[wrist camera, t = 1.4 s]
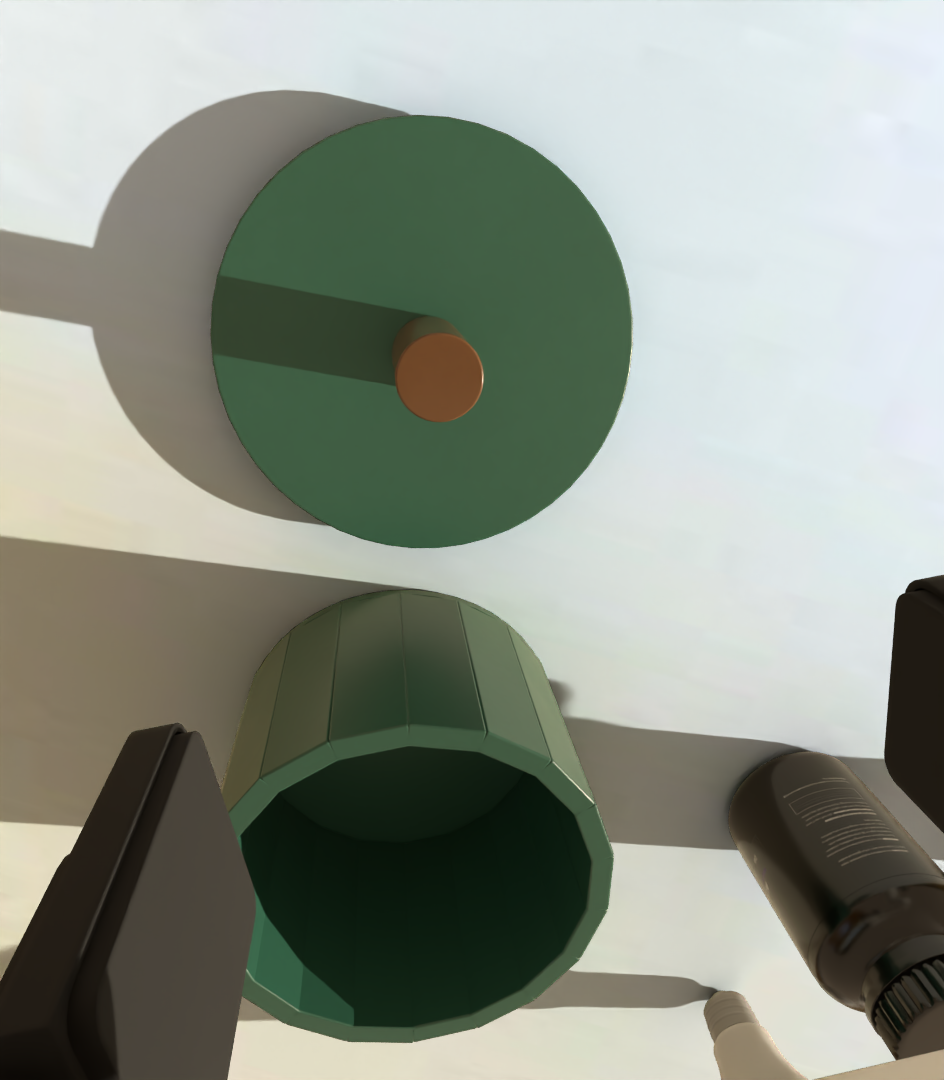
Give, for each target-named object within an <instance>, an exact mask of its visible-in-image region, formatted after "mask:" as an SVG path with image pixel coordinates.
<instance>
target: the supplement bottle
mask: <svg viewBox="0 0 944 1080" xmlns="http://www.w3.org/2000/svg"><path fill="white" fill-rule="evenodd" d="M728 825H729V830H730V834H731V837H732V839H733V841H734V843H735V845H736V847H737V848H738V850H739V852H740V853H741V855H742V857H743V859H744V861H745V862H746V864H747V866H748V867H749V869H750V871H751V872H752V874H753V876H754V877H755V879H756V881H757V882H758V884H759V886H760V887H761V889H762V891H763V892H764V894H765V896H766V897H767V899H768V901H769V902H770V904H771V906H772V908H773V909H774V911H775V913H776V914H777V916H778V918H779V919H780V921H781V923H782V924H783V926H784V928H785V929H786V931H787V933H788V934H789V936H790V938H791V939H792V941H793V943H794V944H795V946H796V948H797V949H798V951H799V953H800V955H801V956H802V958H803V960H804V961H805V963H806V965H807V966H808V968H809V970H810V971H811V973H812V974H813V976H814V977H815V979H816V980H817V982H818V983H819V985H820V986H821V988H822V989H823V990H824V991H825V992H826V993H827V994H828V995H830V996H831V997H832V998H833V999H835V1000H836V1001H838V1002H840V1003H841V1004H843V1005H845V1006H847V1007H849V1008H851V1009H854V1010H857V1011H860V1012H865V1013H866V1016H867V1018H868V1020H869V1022H870V1023H871V1025H872V1026H873V1028H874V1030H875V1031H876V1032H877V1034H878V1035H880V1036H881V1037H882V1039H883V1041H884V1042H885V1044H886V1045H887V1047H888V1048H889V1050H890V1052H891V1053H892V1055H893V1056H894V1058H895V1059H896V1060H900V1059H905V1058H909V1057H913V1056H918V1055H922V1054H926V1053H931V1052H935V1051H939V1050H944V872H943V871H942V870H941V869H940V868H939V867H938V866H937V865H936V863H935V862H934V861H933V860H932V859H931V858H930V857H929V856H928V854H927V853H926V852H925V851H924V850H923V849H922V848H921V847H920V845H919V844H918V843H917V842H916V841H915V840H914V839H913V838H912V836H911V835H910V834H909V833H908V832H907V831H906V830H905V829H904V828H903V826H902V825H901V824H900V823H899V822H898V821H897V820H896V819H895V817H894V816H893V815H892V814H891V813H890V812H889V811H888V810H887V808H886V807H885V806H884V805H883V804H882V803H881V802H880V801H879V799H878V798H877V797H876V796H875V795H874V794H873V793H872V792H871V791H870V789H869V788H868V787H867V786H866V785H865V784H864V783H863V782H862V781H861V780H860V778H859V777H858V776H857V775H856V774H855V773H854V772H853V771H852V770H851V769H850V768H849V767H848V766H847V765H846V764H845V763H843V762H842V761H840V760H838V759H837V758H835V757H833V756H830V755H827V754H823V753H818V752H796V753H790V754H786V755H783V756H780V757H777V758H775V759H773V760H771V761H768V762H767V763H765V764H763V765H762V766H760V767H759V768H757V769H756V770H755V771H753V772H752V773H751V774H750V775H749V776H748V777H747V778H746V779H745V780H744V781H743V783H742V784H741V785H740V786H739V788H738V790H737V791H736V793H735V795H734V797H733V799H732V802H731V805H730V809H729V816H728Z"/></svg>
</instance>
